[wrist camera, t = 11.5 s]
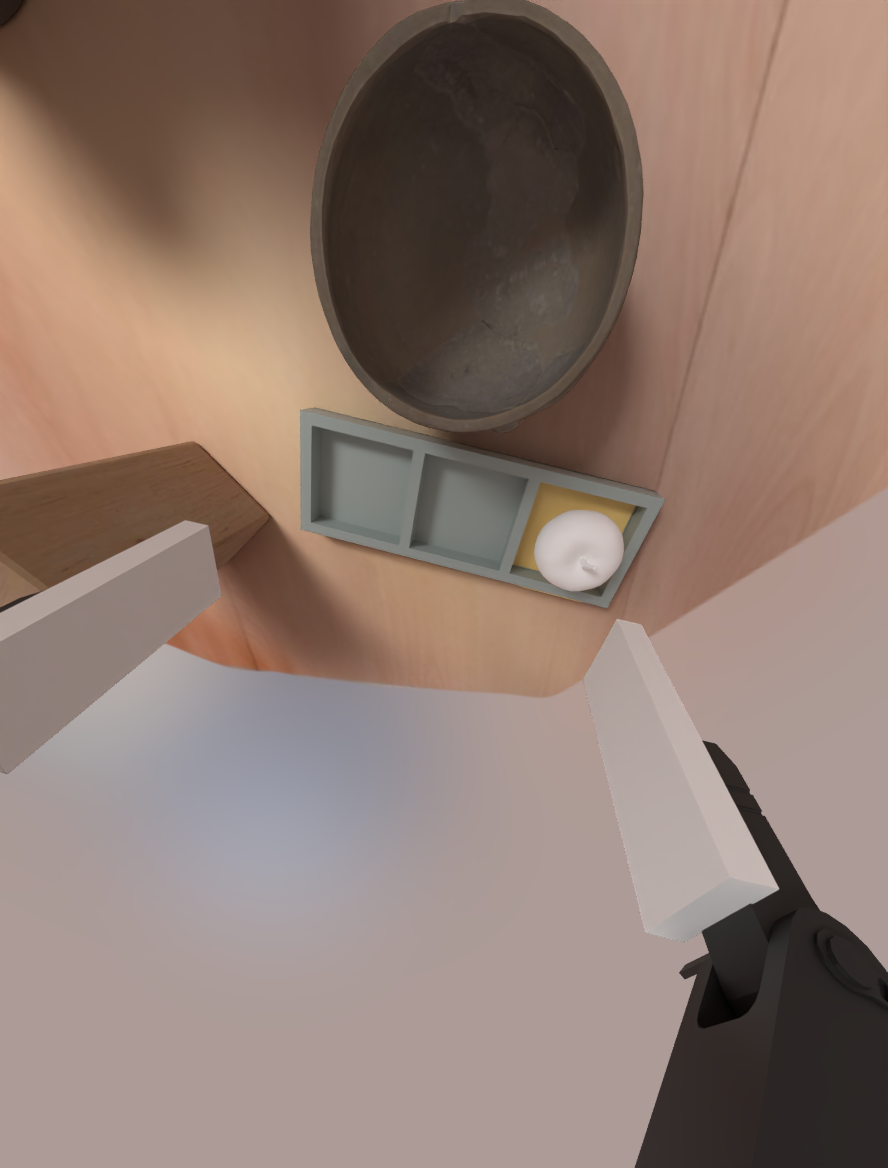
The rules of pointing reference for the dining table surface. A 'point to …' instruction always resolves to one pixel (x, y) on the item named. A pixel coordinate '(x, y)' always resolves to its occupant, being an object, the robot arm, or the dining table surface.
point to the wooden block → (115, 513)
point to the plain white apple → (579, 550)
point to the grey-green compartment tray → (453, 501)
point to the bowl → (476, 214)
